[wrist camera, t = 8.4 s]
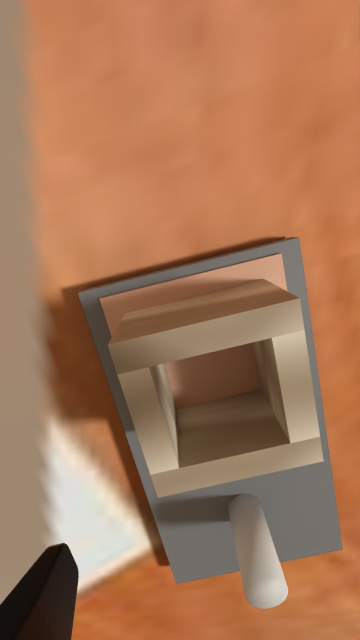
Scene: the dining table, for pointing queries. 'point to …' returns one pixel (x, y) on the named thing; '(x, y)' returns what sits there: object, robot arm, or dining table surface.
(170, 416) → the beige square hollow block
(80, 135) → the dining table surface
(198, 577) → the stand board
